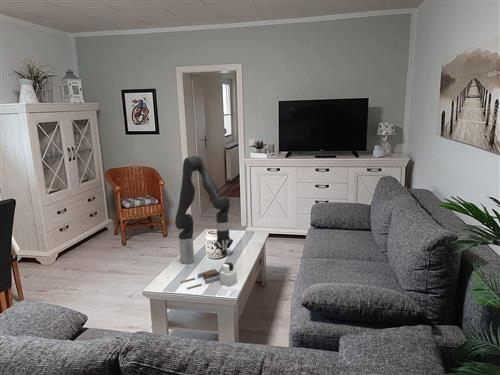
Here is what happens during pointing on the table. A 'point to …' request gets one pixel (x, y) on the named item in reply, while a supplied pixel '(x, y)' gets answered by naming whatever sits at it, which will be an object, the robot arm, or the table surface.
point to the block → (210, 274)
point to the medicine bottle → (228, 275)
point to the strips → (191, 286)
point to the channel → (209, 278)
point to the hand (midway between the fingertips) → (224, 255)
